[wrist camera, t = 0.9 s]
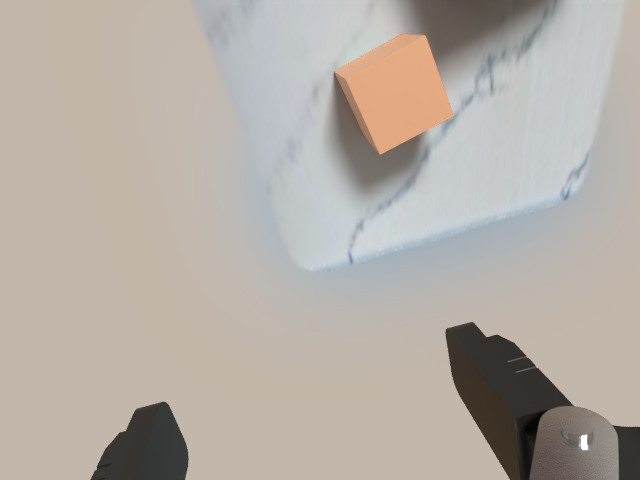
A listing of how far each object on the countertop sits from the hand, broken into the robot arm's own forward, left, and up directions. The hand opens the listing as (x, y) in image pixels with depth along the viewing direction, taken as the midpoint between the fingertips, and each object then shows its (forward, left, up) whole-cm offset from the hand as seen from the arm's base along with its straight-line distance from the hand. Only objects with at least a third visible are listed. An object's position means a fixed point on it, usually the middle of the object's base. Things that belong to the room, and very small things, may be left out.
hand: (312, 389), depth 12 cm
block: (-1, +9, -25) cm, 27 cm away
